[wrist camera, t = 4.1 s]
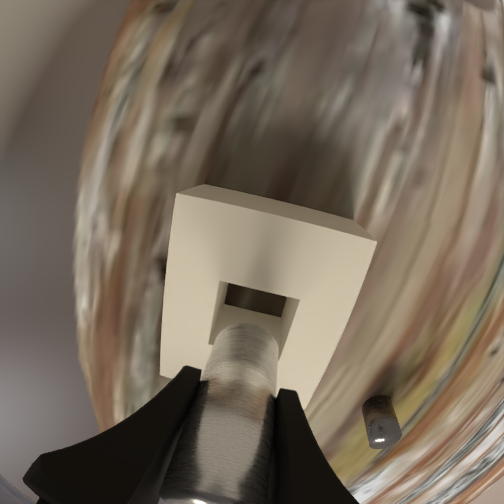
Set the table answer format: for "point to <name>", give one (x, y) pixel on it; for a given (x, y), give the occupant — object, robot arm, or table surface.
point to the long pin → (228, 424)
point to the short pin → (381, 422)
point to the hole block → (260, 279)
